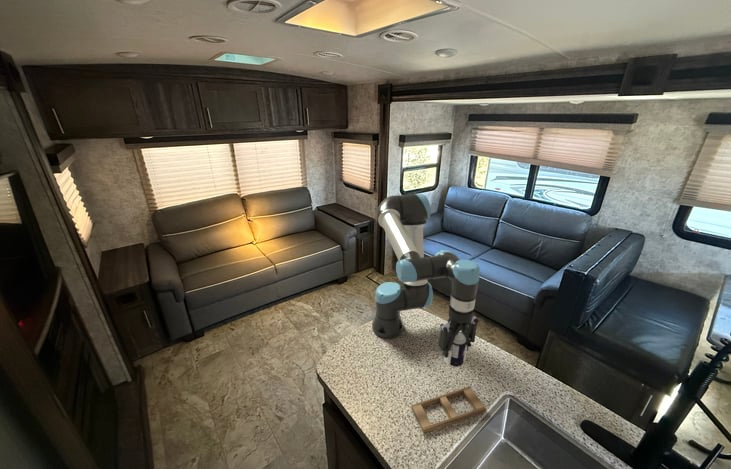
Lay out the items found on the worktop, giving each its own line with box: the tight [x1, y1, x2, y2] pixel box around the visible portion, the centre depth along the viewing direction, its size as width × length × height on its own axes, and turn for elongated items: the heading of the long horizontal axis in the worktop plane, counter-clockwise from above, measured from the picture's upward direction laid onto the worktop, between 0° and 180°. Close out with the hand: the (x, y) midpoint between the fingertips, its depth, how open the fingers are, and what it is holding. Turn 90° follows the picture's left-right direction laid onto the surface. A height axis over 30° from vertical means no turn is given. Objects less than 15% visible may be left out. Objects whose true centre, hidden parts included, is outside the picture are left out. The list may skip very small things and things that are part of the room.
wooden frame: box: [410, 386, 487, 435], centre depth 99 cm, size 9×24×2 cm, turn 107°
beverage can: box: [449, 331, 466, 368], centre depth 98 cm, size 6×6×12 cm
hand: (454, 360), depth 100 cm, fingers closed on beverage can, 6 cm apart
